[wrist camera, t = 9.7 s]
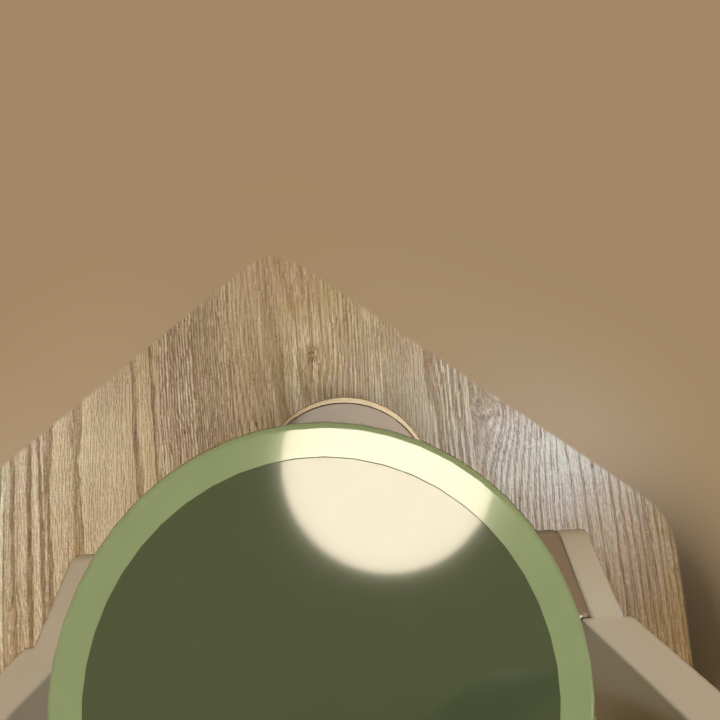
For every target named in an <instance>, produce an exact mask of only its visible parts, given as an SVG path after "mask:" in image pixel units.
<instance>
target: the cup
mask: <svg viewBox="0 0 720 720" xmlns="http://www.w3.org/2000/svg"><path fill="white" fill-rule="evenodd" d="M594 703H595V696H594V687H593V678H592V669H591V660H590V655H589V650H588V646H587V642H586V638H585V634H584V629H583V625H582V621H581V618H580V616H579V613H578V610H577V608H576V605H575V602H574V599H573V597H572V594H571V591H570V589H569V586H568V584H567V582H566V580H565V579H564V577H563V575H562V573H561V571H560V569H559V567H558V565H557V563H556V561H555V559H554V557H553V555H552V554H551V552H550V551H549V549H548V548H547V546H546V545H545V543H544V542H543V540H542V539H541V538H540V536H539V535H538V533H537V532H536V530H535V529H534V527H533V526H532V525H531V523H530V522H529V521H528V520H527V519H526V518H525V517H524V516H523V514H522V513H521V512H520V511H519V510H518V509H517V508H516V506H515V505H514V504H513V503H512V502H511V501H510V500H509V499H508V498H507V497H506V496H505V495H504V494H503V493H502V492H500V491H499V490H498V489H497V488H496V487H495V486H494V485H492V484H491V483H490V482H489V481H488V480H487V479H486V478H484V477H483V476H482V475H481V474H479V473H478V472H476V471H475V470H473V469H472V468H470V467H469V466H467V465H466V464H464V463H463V462H461V461H460V460H458V459H457V458H455V457H454V456H452V455H450V454H448V453H446V452H444V451H442V450H440V449H438V448H436V447H434V446H432V445H430V444H428V443H426V442H424V441H421V440H418V439H415V438H412V437H409V436H406V435H403V434H400V433H398V432H395V431H392V430H387V429H382V428H377V427H372V426H367V425H362V424H354V423H339V422H311V423H294V424H288V425H283V426H278V427H273V428H267V429H262V430H258V431H255V432H252V433H249V434H246V435H243V436H240V437H237V438H234V439H231V440H228V441H226V442H224V443H222V444H220V445H218V446H215V447H213V448H211V449H209V450H207V451H205V452H203V453H201V454H199V455H197V456H195V457H194V458H192V459H191V460H189V461H188V462H186V463H184V464H183V465H181V466H180V467H178V468H177V469H175V470H174V471H172V472H171V473H169V474H168V475H166V476H165V477H164V478H163V479H162V480H160V481H159V482H158V483H157V484H156V485H155V486H153V487H152V488H151V489H150V490H149V491H148V492H146V493H145V494H144V495H143V496H142V497H140V498H139V500H138V501H137V502H136V503H135V504H134V505H133V506H132V507H131V508H130V509H129V510H128V512H127V513H126V514H125V515H124V516H123V517H122V518H121V519H120V520H119V521H118V522H117V524H116V525H115V526H114V528H113V529H112V530H111V532H110V533H109V535H108V536H107V537H106V539H105V540H104V542H103V543H102V544H101V546H100V547H99V549H98V550H97V551H96V553H95V554H94V556H93V558H92V560H91V562H90V564H89V565H88V567H87V569H86V571H85V573H84V575H83V576H82V578H81V580H80V582H79V584H78V586H77V588H76V590H75V593H74V595H73V598H72V601H71V603H70V606H69V608H68V611H67V613H66V616H65V618H64V621H63V624H62V628H61V632H60V636H59V640H58V643H57V647H56V651H55V655H54V659H53V665H52V672H51V679H50V687H49V694H48V720H594Z"/></svg>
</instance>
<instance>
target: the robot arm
mask: <svg viewBox="0 0 720 720" xmlns="http://www.w3.org/2000/svg"><path fill="white" fill-rule="evenodd" d="M536 532H537V533H538V535H539V536H540V538H541V539H542V540H543V542H544V543H545V545H546V546H547V548H548V549H549V551H550V552H551V554H552V555H553V557H554V559H555V561H556V563H557V565H558V567H559V569H560V571H561V573H562V575H563V577H564V579H565V580H566V582H567V584H568V586H569V589H570V591H571V594H572V597H573V599H574V602H575V605H576V608H577V610H578V613H579V616H580V618H581V621H582V625H583V629H584V634H585V638H586V642H587V646H588V650H589V655H590V660H591V669H592V678H593V687H594V696H595V703H594V716H595V717H596V718H597V719H598V720H720V692H719V691H718V690H717V689H716V688H715V687H714V686H713V685H711V684H710V683H709V682H708V681H707V680H706V679H705V678H703V677H702V676H701V675H700V674H699V673H698V672H697V671H695V670H694V669H693V668H692V667H691V666H690V665H688V664H687V663H686V662H685V661H684V660H683V659H682V658H680V657H679V656H678V655H677V654H676V653H675V652H674V651H672V650H671V649H670V648H669V647H668V646H667V645H665V644H664V643H663V642H662V641H661V640H660V639H659V638H657V637H656V636H655V635H654V634H653V633H652V632H651V631H649V630H648V629H647V628H646V627H645V626H644V625H642V624H641V623H640V622H639V621H638V620H637V619H636V618H634V617H633V616H624V615H623V613H622V610H621V608H620V606H619V603H618V601H617V599H616V596H615V594H614V592H613V590H612V587H611V585H610V583H609V580H608V578H607V576H606V573H605V571H604V569H603V567H602V564H601V562H600V560H599V557H598V555H597V553H596V550H595V548H594V546H593V544H592V541H591V539H590V537H589V535H588V534H587V533H586V531H585V530H583V529H571V530H557V531H554V530H543V531H536ZM93 556H94V554H85V555H76V557H75V558H74V559H73V560H72V562H71V563H70V564H69V566H68V568H67V571H66V573H65V575H64V578H63V580H62V582H61V585H60V587H59V590H58V592H57V594H56V597H55V599H54V601H53V604H52V606H51V609H50V611H49V613H48V616H47V618H46V621H45V623H44V625H43V628H42V630H41V632H40V635H39V637H38V640H37V642H36V644H35V647H34V648H25V649H24V650H23V651H22V652H21V653H20V654H19V655H18V656H17V657H16V658H15V659H14V660H13V661H11V662H10V663H9V664H8V665H7V666H6V667H5V668H4V669H3V670H2V671H1V672H0V720H48V694H49V687H50V679H51V672H52V665H53V659H54V655H55V651H56V647H57V643H58V640H59V636H60V632H61V628H62V624H63V621H64V618H65V616H66V613H67V611H68V608H69V606H70V603H71V601H72V598H73V595H74V593H75V590H76V588H77V586H78V584H79V582H80V580H81V578H82V576H83V575H84V573H85V571H86V569H87V567H88V565H89V564H90V562H91V560H92V558H93Z"/></svg>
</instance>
